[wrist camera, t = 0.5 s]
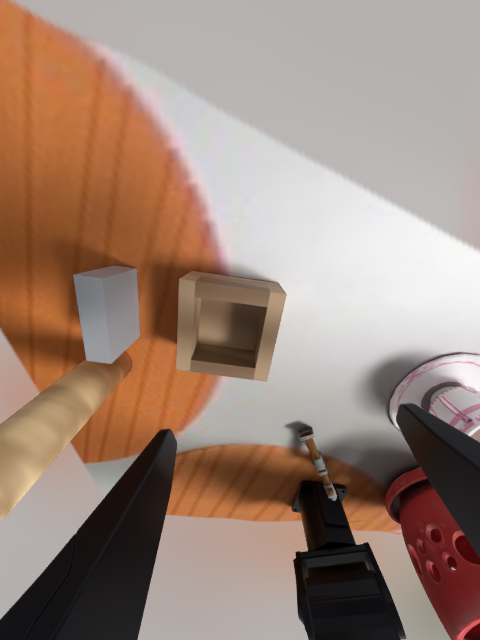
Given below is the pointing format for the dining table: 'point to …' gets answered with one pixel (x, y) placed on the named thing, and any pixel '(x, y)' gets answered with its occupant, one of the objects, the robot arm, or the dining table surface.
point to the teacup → (445, 391)
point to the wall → (108, 311)
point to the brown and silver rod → (318, 461)
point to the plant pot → (438, 553)
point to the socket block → (227, 325)
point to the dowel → (52, 424)
